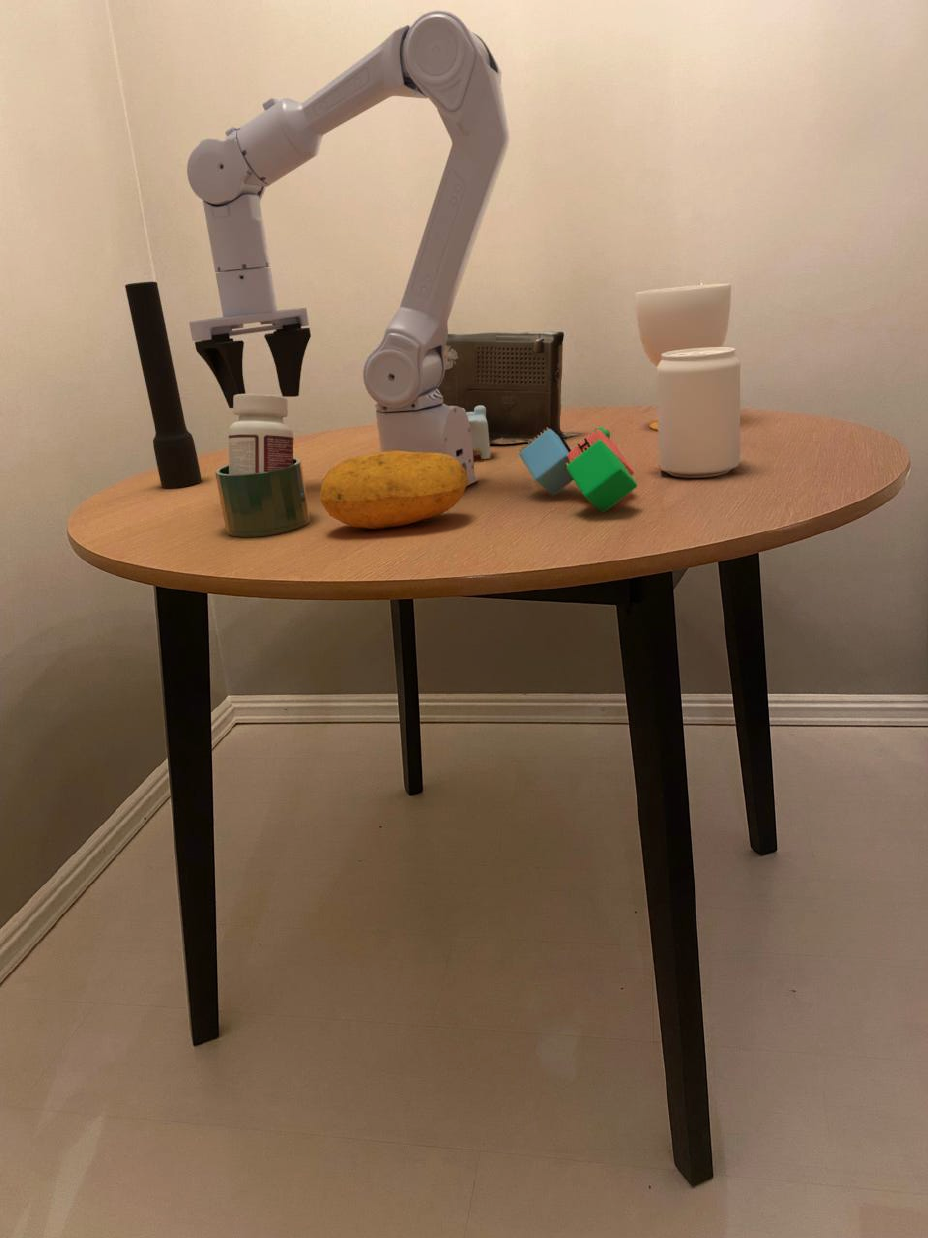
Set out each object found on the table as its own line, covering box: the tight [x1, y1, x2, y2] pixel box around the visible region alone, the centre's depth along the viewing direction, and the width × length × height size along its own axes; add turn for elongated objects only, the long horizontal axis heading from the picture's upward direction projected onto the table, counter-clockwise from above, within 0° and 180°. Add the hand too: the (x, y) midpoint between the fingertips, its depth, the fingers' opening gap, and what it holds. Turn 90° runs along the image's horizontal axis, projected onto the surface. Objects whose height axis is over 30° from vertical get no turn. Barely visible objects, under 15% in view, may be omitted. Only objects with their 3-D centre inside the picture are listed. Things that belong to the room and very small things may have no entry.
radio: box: [437, 330, 580, 445], centre depth 124 cm, size 23×9×15 cm, turn 60°
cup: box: [634, 283, 732, 431], centre depth 121 cm, size 12×12×17 cm
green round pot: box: [214, 457, 311, 538], centre depth 92 cm, size 8×8×6 cm
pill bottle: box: [228, 393, 294, 475], centre depth 91 cm, size 6×6×11 cm
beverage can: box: [656, 346, 741, 479], centre depth 95 cm, size 8×8×12 cm
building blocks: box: [518, 426, 638, 513], centre depth 89 cm, size 8×8×12 cm
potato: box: [319, 450, 468, 530], centre depth 87 cm, size 8×14×7 cm, turn 89°
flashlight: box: [124, 281, 203, 489], centre depth 115 cm, size 5×24×5 cm
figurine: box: [462, 406, 491, 460], centre depth 116 cm, size 4×8×6 cm, turn 4°
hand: (265, 401), depth 103 cm, fingers open, 7 cm apart
